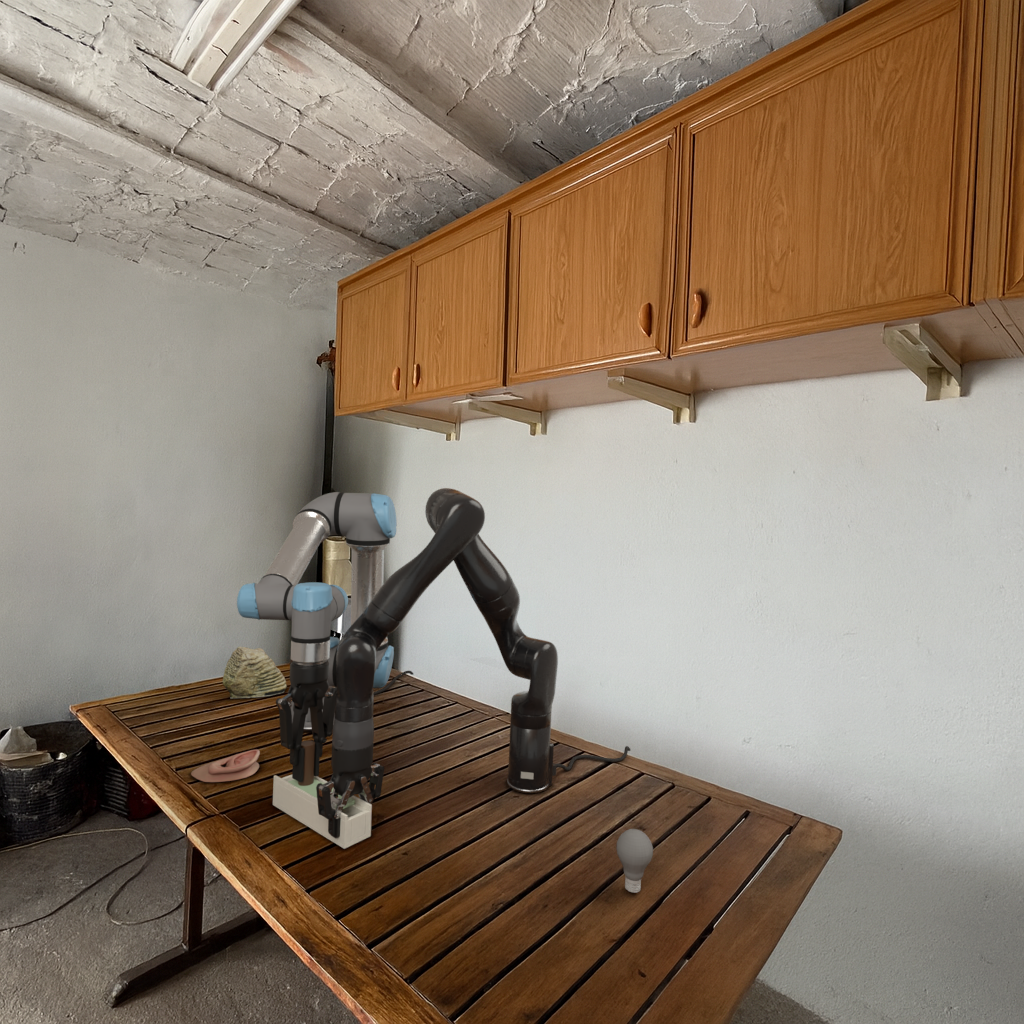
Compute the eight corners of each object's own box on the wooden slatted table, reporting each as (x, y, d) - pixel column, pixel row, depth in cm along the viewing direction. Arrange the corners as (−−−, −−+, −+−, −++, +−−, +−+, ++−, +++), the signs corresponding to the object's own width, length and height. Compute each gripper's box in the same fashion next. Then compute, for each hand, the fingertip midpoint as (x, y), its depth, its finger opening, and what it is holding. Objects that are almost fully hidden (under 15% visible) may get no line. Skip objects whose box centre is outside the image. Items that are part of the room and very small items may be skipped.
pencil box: (272, 804, 130) (273, 775, 129) (298, 795, 134) (299, 767, 134) (344, 849, 114) (345, 816, 114) (370, 836, 119) (371, 804, 119)
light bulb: (610, 879, 108) (613, 822, 108) (644, 879, 109) (647, 822, 109) (619, 902, 102) (622, 840, 102) (655, 901, 103) (658, 840, 103)
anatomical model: (182, 760, 139) (216, 741, 150) (181, 778, 139) (216, 758, 150) (236, 768, 136) (267, 748, 147) (235, 786, 136) (266, 765, 147)
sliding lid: (287, 785, 127) (288, 742, 127) (306, 778, 131) (308, 736, 131) (335, 812, 117) (336, 765, 117) (354, 804, 121) (356, 758, 121)
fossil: (218, 695, 195) (220, 647, 195) (278, 685, 208) (279, 640, 207) (228, 703, 189) (230, 653, 188) (289, 692, 201) (290, 645, 201)
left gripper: (332, 650, 135) (328, 759, 136) (262, 663, 123) (258, 783, 123) (354, 657, 131) (349, 770, 131) (284, 671, 118) (279, 796, 119)
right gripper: (371, 725, 126) (367, 809, 126) (307, 745, 115) (304, 837, 115) (396, 735, 121) (392, 822, 122) (332, 757, 110) (328, 852, 110)
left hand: (305, 776), depth 127 cm, fingers closed on sliding lid, 3 cm apart
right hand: (349, 829), depth 118 cm, fingers closed on pencil box, 6 cm apart
